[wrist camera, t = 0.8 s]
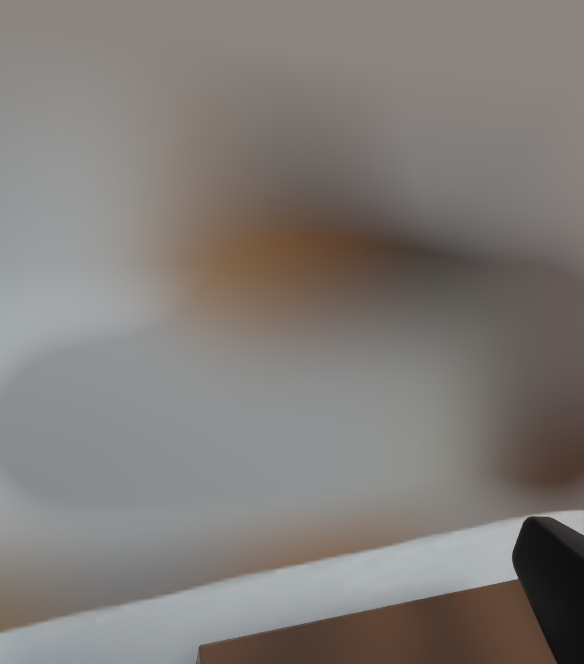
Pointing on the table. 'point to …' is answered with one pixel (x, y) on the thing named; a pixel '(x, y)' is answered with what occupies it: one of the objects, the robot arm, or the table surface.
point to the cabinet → (405, 634)
